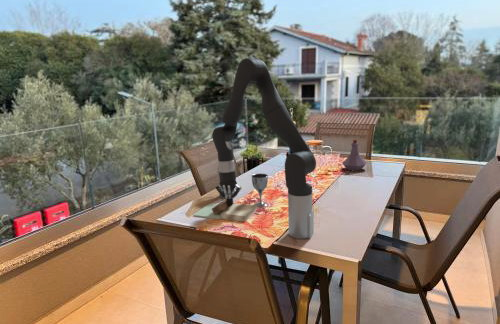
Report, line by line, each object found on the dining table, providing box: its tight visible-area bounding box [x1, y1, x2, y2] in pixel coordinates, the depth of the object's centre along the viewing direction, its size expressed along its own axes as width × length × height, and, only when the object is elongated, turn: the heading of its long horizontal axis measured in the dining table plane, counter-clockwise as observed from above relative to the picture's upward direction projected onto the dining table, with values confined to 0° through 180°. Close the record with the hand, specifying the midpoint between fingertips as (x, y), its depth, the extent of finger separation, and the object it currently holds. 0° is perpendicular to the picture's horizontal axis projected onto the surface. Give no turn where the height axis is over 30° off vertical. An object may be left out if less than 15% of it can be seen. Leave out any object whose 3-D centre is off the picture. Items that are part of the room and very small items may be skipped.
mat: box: [192, 203, 223, 220], centre depth 160 cm, size 14×16×1 cm
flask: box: [341, 139, 368, 172], centre depth 223 cm, size 16×16×20 cm
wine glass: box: [251, 173, 269, 208], centre depth 165 cm, size 8×8×15 cm
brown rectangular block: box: [212, 199, 229, 215], centre depth 158 cm, size 6×9×3 cm, turn 157°
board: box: [220, 202, 258, 222], centre depth 155 cm, size 12×14×2 cm
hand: (230, 205), depth 156 cm, fingers closed
